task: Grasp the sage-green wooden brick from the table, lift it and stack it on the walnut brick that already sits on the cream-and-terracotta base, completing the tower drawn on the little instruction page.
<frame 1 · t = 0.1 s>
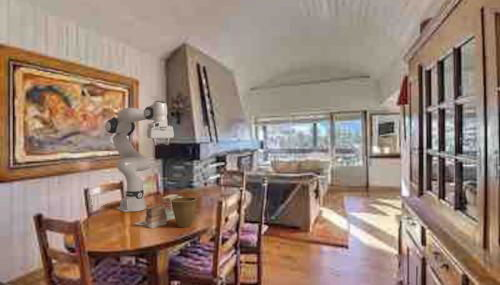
hand: (161, 144, 218), 48 cm above the table, fingers open, 8 cm apart
stack of blocks: (173, 212, 227), on the table
brick walnut: (156, 215, 193), point 6 cm above the table, touching base brick
plant pot: (184, 226, 191), on the table
brick sage: (167, 219, 208), on the table
instruction page: (143, 223, 199), on the table
base brick: (156, 225, 193), on the table
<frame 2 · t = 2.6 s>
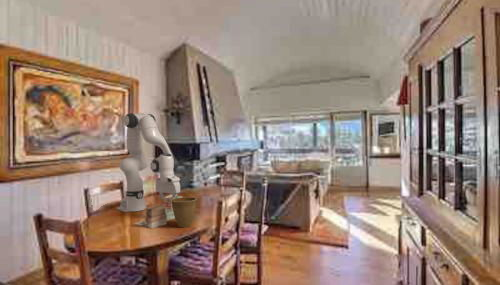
hand: (167, 199, 207), 13 cm above the table, fingers open, 8 cm apart
nothing on the table moved.
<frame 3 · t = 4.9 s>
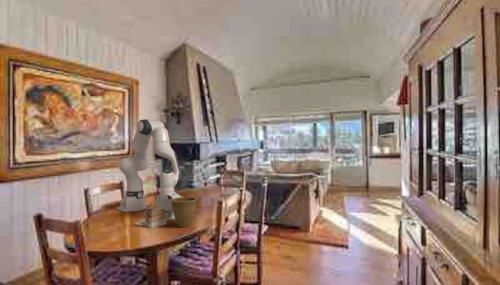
hand: (167, 216, 208), 2 cm above the table, fingers closed on brick sage, 5 cm apart
brick sage: (167, 218, 208), on the table, touching gripper
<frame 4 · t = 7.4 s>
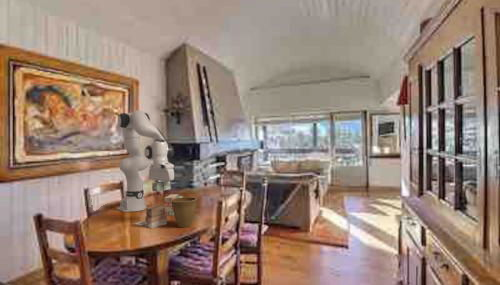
hand: (161, 187, 199), 22 cm above the table, fingers closed on brick sage, 5 cm apart
brick sage: (161, 190, 199), point 20 cm above the table, touching gripper
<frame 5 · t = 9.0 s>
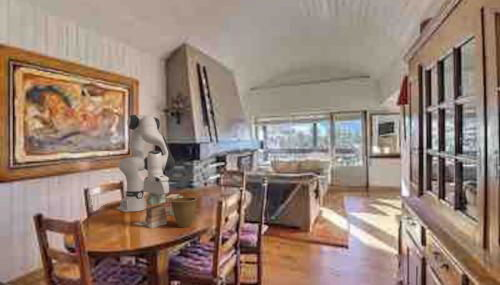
hand: (156, 200, 193), 15 cm above the table, fingers closed on brick sage, 5 cm apart
brick sage: (156, 203, 193), point 13 cm above the table, touching gripper
when the fingers open (14 cm above the table, at t = 10.1 s): brick sage stays where it is, resting on brick walnut.
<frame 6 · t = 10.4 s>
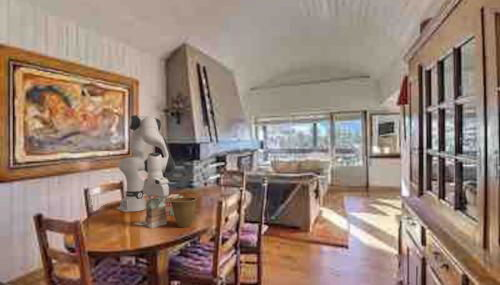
hand: (155, 202, 193), 14 cm above the table, fingers open, 8 cm apart
brick walnut: (156, 215, 193), point 6 cm above the table, touching base brick, brick sage
brick sage: (155, 207, 193), point 11 cm above the table, touching brick walnut
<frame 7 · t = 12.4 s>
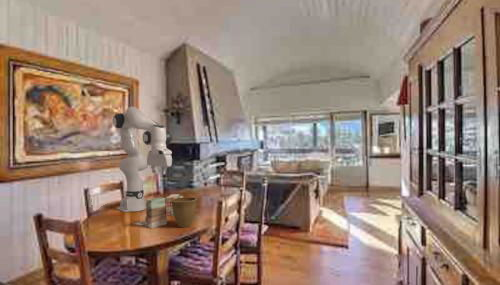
hand: (158, 173, 198), 31 cm above the table, fingers open, 8 cm apart
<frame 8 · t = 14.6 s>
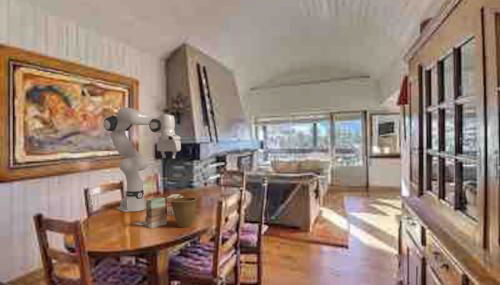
hand: (168, 158, 213), 39 cm above the table, fingers open, 8 cm apart
at the end: brick sage 0.1 cm from the base brick (horizontally); brick sage touching brick walnut; brick sage point 11.0 cm above the table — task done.
